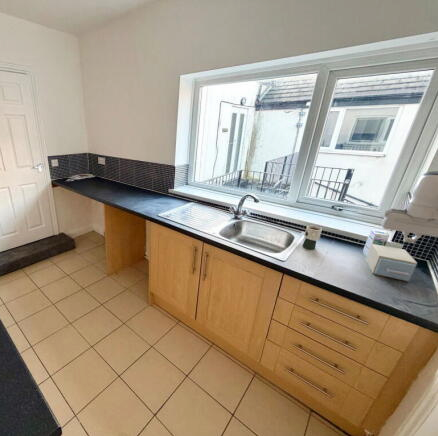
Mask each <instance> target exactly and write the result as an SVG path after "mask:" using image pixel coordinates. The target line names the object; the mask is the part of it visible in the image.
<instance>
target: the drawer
mask: <svg viewBox="0 0 438 436" xmlns="http://www.w3.org/2000/svg"><path fill="white" fill-rule="evenodd" d="M414 268H415V269H416V267H415V265H414V264H411V263H406V262H401V261H396V260H391V259H386V258H380V260H379V263H378V265H377V268H376V270H375V273H376V274H375V275H377V274H380V275H379V276H381V275H385V276H384V277H386V276H389V277H388V278H390V277H394V278H393V279H395V278H398V279H397V280H399V279H402V280H401V281H404V280H407V281H406V282H408V281H409V282H410V280H409V279H411V278H412V276H411V275H413V273H414V271H415V269H414ZM413 270H414V271H413ZM410 277H411V278H410Z"/></svg>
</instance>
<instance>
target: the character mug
mask: <svg viewBox="0 0 438 436" xmlns="http://www.w3.org/2000/svg"><path fill="white" fill-rule="evenodd" d="M322 231H323V228H322V227H320V226H317V225H312V224H310V225H307V226H306V228H305V231H304V236H303V237H304V238H305V239H304V240H303V242H302V248H303V249H305V250H310V251H314V250H316V248H317V247H316V246H317V241H319V240H320V239H321V235H322Z"/></svg>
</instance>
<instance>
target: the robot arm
mask: <svg viewBox="0 0 438 436" xmlns="http://www.w3.org/2000/svg"><path fill="white" fill-rule="evenodd" d="M416 182H417V183H416V184H415V186H414V189H413V191H412V196H411V199H410V200H409V201H408V203H407V205H406V209H404V208H396V207H392V208H388V209H387V210H385V213H384V217H383V219H382V220H381V222H380V226H381V227H382V228H383V229H384V230H390V231H395V232H396V231H397V232H401V233H402V235H403V239H402V242H404V243H408V244H415V242H416V241H417V240H418V239H420V238H421V237H422V236H427V237H434V238H438V170H435V171H428V172H425V173H423V174H422V175H420V178H419V179H418V180H417V181H416ZM410 233H411V234H414V235H413V236H412V237H408V236H409V235H410Z"/></svg>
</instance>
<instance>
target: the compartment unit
mask: <svg viewBox="0 0 438 436" xmlns="http://www.w3.org/2000/svg"><path fill="white" fill-rule="evenodd" d="M380 258H386V259H391V260H396V261H401V262H406V263H411V264H414V265H415V268H414V270H413V272H414V271H415V269H416V267H417V265H418V262H417V261H416V260H415V259H414V257H413V256H412V255H411V254H410V253H409V252H408V251H407V250H406V249H403V248H397V247H392V246H387V245H385V246H382V245H376V244H371V246H370V249H369V252H368V254H367V257H366V256H365V261H366V264H367V265H368V268H369V271H370V273H372V274H373V275H377V276H382V277H386V278H391V279H395V280H400V281H403V282H408V283H409V282H410V279H412V275H413V274H412V275H411V277H410V279H409V281H407V280H402V279H398V278H394V277H389V276H385V275H380V274H376V273H375V270H376V268H377V265H378V263H379V260H380Z"/></svg>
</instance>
